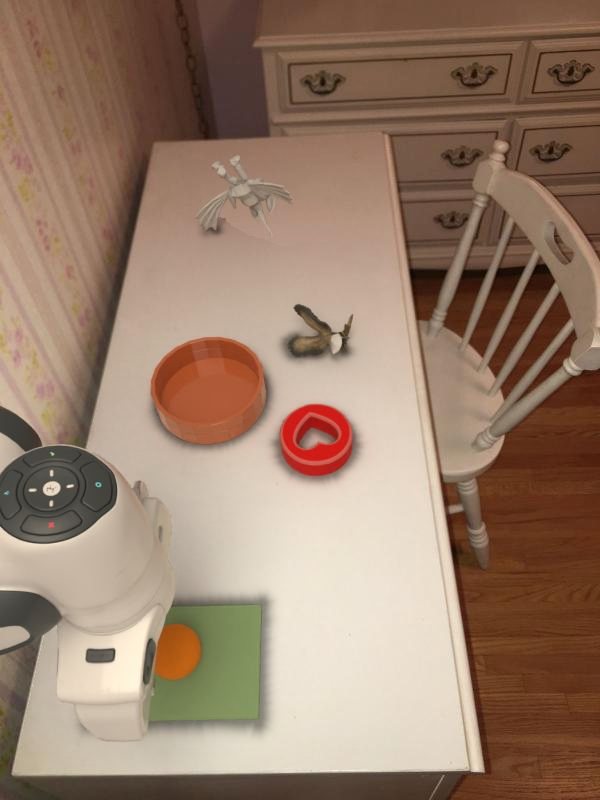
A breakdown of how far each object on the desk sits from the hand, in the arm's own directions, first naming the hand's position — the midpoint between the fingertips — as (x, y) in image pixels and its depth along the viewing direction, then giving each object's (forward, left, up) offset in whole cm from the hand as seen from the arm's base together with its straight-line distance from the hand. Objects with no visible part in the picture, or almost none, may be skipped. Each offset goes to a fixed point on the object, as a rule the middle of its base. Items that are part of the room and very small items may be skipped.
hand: (153, 635), depth 63 cm
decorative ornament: (+31, +11, -11) cm, 34 cm away
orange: (+1, 0, -10) cm, 10 cm away
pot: (+25, +27, -11) cm, 38 cm away
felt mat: (+1, 0, -11) cm, 11 cm away
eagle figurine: (+43, +24, -11) cm, 50 cm away
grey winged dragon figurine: (+53, +54, -11) cm, 76 cm away
